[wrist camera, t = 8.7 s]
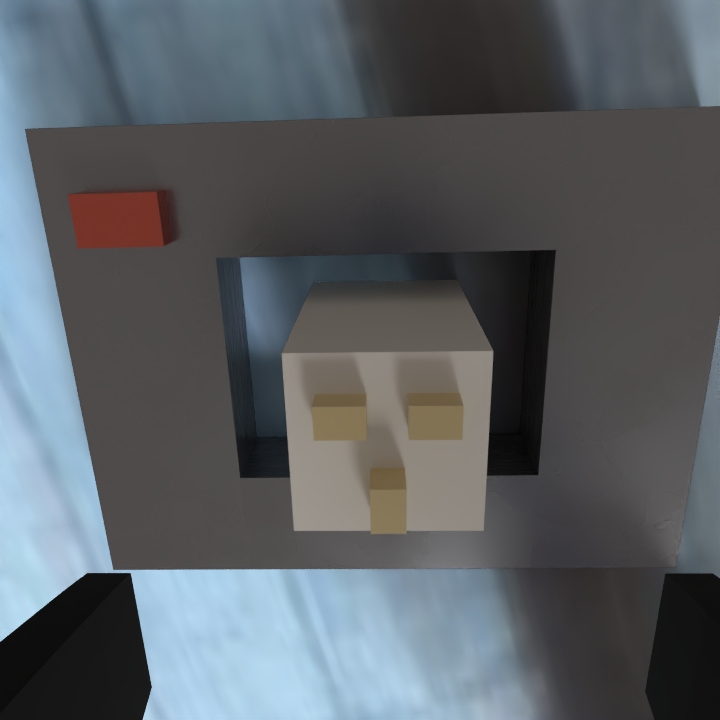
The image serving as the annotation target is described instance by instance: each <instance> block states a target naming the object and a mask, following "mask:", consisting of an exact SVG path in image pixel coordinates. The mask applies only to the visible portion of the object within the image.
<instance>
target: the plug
mask: <svg viewBox="0 0 720 720" xmlns="http://www.w3.org/2000/svg"><path fill="white" fill-rule="evenodd" d="M282 367H283V381H284V395H285V410H286V424H287V438H288V452H289V467H290V481H291V495H292V510H293V524H294V531H371V534H406V531H484V516H485V498H486V479H487V460H488V442H489V423H490V405H491V386H492V368H493V349H492V347H491V345H490V343H489V341H488V339H487V337H486V335H485V334H484V332H483V330H482V328H481V326H480V324H479V322H478V320H477V318H476V316H475V314H474V312H473V310H472V308H471V306H470V304H469V302H468V300H467V298H466V296H465V294H464V292H463V290H462V288H461V286H460V284H459V283H458V281H457V280H395V281H327V282H313V284H312V286H311V288H310V291H309V293H308V295H307V297H306V300H305V302H304V304H303V306H302V309H301V311H300V313H299V315H298V318H297V320H296V322H295V324H294V326H293V329H292V331H291V333H290V335H289V338H288V340H287V342H286V344H285V347H284V349H283V351H282Z"/></svg>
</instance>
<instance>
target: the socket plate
mask: <svg viewBox="0 0 720 720" xmlns="http://www.w3.org/2000/svg"><path fill="white" fill-rule="evenodd" d="M25 132H26V137H27V142H28V147H29V152H30V157H31V162H32V167H33V172H34V177H35V182H36V187H37V192H38V197H39V202H40V207H41V212H42V217H43V222H44V227H45V232H46V237H47V242H48V247H49V252H50V256H51V261H52V266H53V271H54V276H55V281H56V286H57V291H58V296H59V301H60V306H61V311H62V316H63V321H64V326H65V331H66V336H67V341H68V346H69V351H70V356H71V361H72V366H73V371H74V376H75V381H76V386H77V391H78V396H79V401H80V406H81V411H82V416H83V421H84V426H85V431H86V436H87V441H88V446H89V451H90V456H91V461H92V466H93V471H94V476H95V481H96V485H97V490H98V495H99V500H100V505H101V510H102V515H103V520H104V525H105V530H106V535H107V540H108V545H109V550H110V555H111V560H112V565H113V570H164V569H481V568H676V563H677V557H678V551H679V546H680V540H681V534H682V528H683V523H684V517H685V511H686V505H687V500H688V494H689V488H690V482H691V477H692V471H693V465H694V460H695V454H696V448H697V442H698V437H699V431H700V425H701V419H702V414H703V408H704V402H705V396H706V391H707V385H708V379H709V373H710V368H711V362H712V356H713V351H714V345H715V339H716V333H717V328H718V322H719V316H720V106H711V107H681V108H650V109H619V110H589V111H558V112H528V113H497V114H467V115H436V116H405V117H375V118H344V119H314V120H283V121H252V122H222V123H191V124H161V125H130V126H99V127H69V128H38V129H25ZM526 250H532V251H531V267H530V282H529V298H528V313H527V329H526V344H525V360H524V375H523V391H522V406H521V422H520V434H494V435H489V442H488V460H487V479H486V498H485V516H484V531H406V534H371V531H294V524H293V510H292V495H291V481H290V467H289V452H288V438H287V437H257V435H256V424H255V414H254V404H253V393H252V383H251V373H250V362H249V352H248V342H247V331H246V321H245V310H244V300H243V290H242V279H241V269H240V259H239V257H273V256H315V255H358V254H400V253H442V252H484V251H526Z"/></svg>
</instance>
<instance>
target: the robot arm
mask: <svg viewBox="0 0 720 720" xmlns="http://www.w3.org/2000/svg"><path fill="white" fill-rule="evenodd" d="M151 688H152V686H151V681H150V675H149V670H148V665H147V659H146V654H145V648H144V643H143V637H142V632H141V627H140V621H139V616H138V610H137V605H136V599H135V594H134V589H133V583H132V578H131V573H87V574H86V575H84V576H83V577H82V578H80V579H79V580H77V581H76V582H75V583H73V584H72V585H71V586H70V587H68V588H67V589H66V590H64V591H63V592H62V593H61V594H59V595H58V596H57V597H55V598H54V599H53V600H52V601H50V602H49V603H48V604H47V605H46V606H44V607H43V608H42V609H41V610H39V611H38V612H37V613H36V614H34V615H33V616H32V617H31V618H29V619H28V620H27V621H26V622H24V623H23V624H22V625H21V626H19V627H18V628H17V629H16V630H15V631H13V632H12V633H11V634H10V635H8V636H7V637H6V638H5V639H3V640H2V641H1V642H0V720H143V716H144V713H145V709H146V706H147V702H148V699H149V695H150V692H151ZM645 692H646V695H647V698H648V701H649V704H650V707H651V710H652V713H653V716H654V719H655V720H720V578H718V577H717V576H715V575H714V574H665V579H664V584H663V590H662V596H661V602H660V608H659V614H658V620H657V626H656V632H655V637H654V643H653V649H652V655H651V661H650V667H649V673H648V679H647V685H646V690H645Z"/></svg>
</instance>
